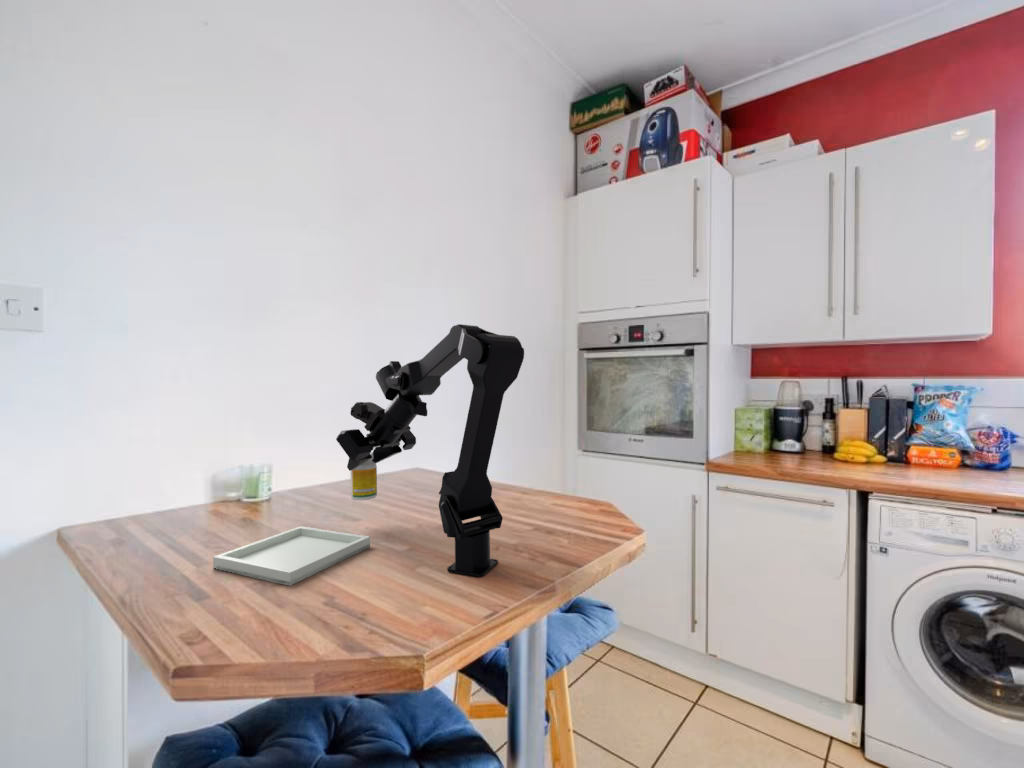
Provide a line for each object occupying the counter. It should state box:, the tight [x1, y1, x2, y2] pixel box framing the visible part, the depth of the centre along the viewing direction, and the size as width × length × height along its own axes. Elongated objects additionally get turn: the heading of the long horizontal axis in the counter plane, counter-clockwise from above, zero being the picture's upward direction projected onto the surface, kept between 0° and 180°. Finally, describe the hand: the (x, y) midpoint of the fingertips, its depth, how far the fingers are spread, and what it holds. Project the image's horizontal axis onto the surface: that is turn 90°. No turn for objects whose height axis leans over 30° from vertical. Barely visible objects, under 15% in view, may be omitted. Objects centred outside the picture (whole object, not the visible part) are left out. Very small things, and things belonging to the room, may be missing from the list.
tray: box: [212, 525, 371, 586], centre depth 82 cm, size 18×18×2 cm
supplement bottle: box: [350, 451, 378, 501], centre depth 98 cm, size 5×5×10 cm
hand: (358, 466), depth 98 cm, fingers closed on supplement bottle, 5 cm apart
